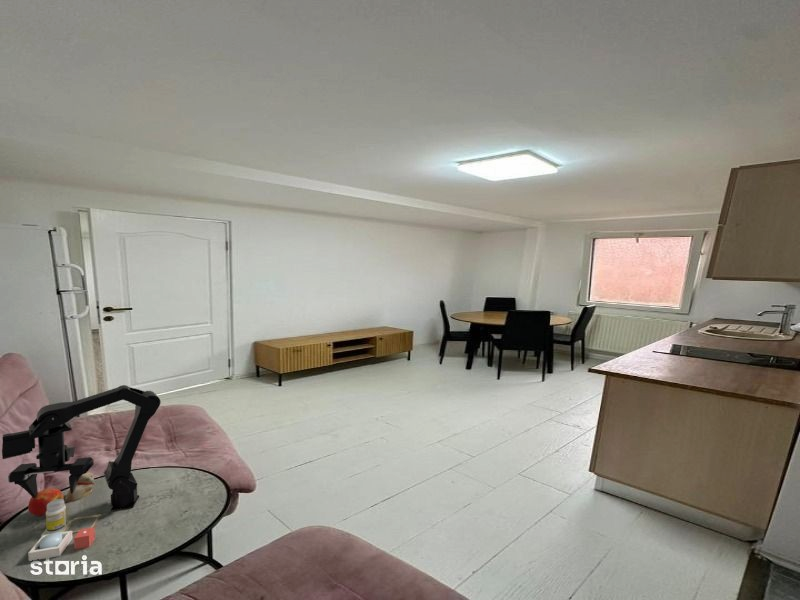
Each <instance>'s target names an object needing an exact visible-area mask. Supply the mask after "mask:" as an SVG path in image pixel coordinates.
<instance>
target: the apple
mask: <svg viewBox="0 0 800 600" xmlns="http://www.w3.org/2000/svg"><path fill="white" fill-rule="evenodd" d="M56 499H63V500H64V495H63V492H62V491H61V490H60V489H58V488H45V489H42V490H39V491H38V493H37V497H36V498H33V497H32V496H31V498H30V499H29V500H28V506H27V508H28V512H29V514H30V515H33V516H34V517H46V511H47V504H48V503H49V502H51V501H53V500H56Z"/></svg>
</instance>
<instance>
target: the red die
mask: <svg viewBox="0 0 800 600" xmlns="http://www.w3.org/2000/svg"><path fill="white" fill-rule="evenodd" d="M95 528H96V527H95V526H93V528H90V527H89V528H81V529H79V532H77V533H76V535H75V536H74V537H73V543H74V544H73V545H74V550H80V549H85V548H90V547H91V546H92V545H93V542H94V541H95V540H96V531H95V530H96V529H95Z"/></svg>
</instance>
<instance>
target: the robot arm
mask: <svg viewBox="0 0 800 600" xmlns="http://www.w3.org/2000/svg"><path fill="white" fill-rule="evenodd" d="M121 401H125V402H128V403H130V404H133V405H134V406H135V409H134V417H133V420H132V421H131V425H130V427H129V429H128V432H127V434H126V436H125V438H124V441H123V443H122V446H121V449H120V450H119V454H118V456H117V457H116V458H115V459H114V461H110V460H109V461H108V462H107V467H106V469H105V470H104V471H103V474H104V479H105V481H106V484H107V487H108V488H109V489H110V490H112V492H111V494H110V506H111V508H110V511H111V512H113V511H119V510H121V511H122V510H127V509H128V510H129V509H133V508H134V507H135V505H136V504H137V502H138V500H139V499H140V495H139V494H138V482H137V480H136V478H135V476H134V474H133V472H132V463H133V459H134V456H135V455H136V452H137V449H138V447H139V445H140V442H141V439H142V437H143V435H144V432H145V429H146V428H147V426H148V422H149V420H151V418H152V417H153V416H154V415H155V414H156V413H157V411H158V409H159V408H160V406H161V399H160V397H159V396H158V395H157V394H156V393H155V392H154V391H153V390H143V389H142V390H141V389H138V388H134V387H131V386H128V385H125V384H123V385H119V386H117V387H115V388H112V389H108V390H106V391H102V392H99V393H96V394H94V395H93V394H92V395H89V396H88V397H87V396H86V397H83V398H81V399H78V400H74V401H65V402H57V403H52V404H48V405H45V406H42V407H40V408H39V410H38V411H37V413H36V418H35V419H34V420H33V421H32V423H31V424H30V425H29V427H28V429H27V430H23V431H18V432H13V433H11V432H10V433H6V434H3V435H2V442H1V445H2V447H1V455H2V457H1V458H2V460H6V459H10V458H16V457H18V456H23V455H28V454H31V452H33V449H36V439H37V444H38V454H37V455H36V456H35V457H36V460H39V461H38V463H39V466H37V465H38V464H37V463H36V462H30V463H21V464H19V465H18V466H17V467H15V468H14V469H13V470H12V471H10V472H9V474H8V480H7V481H8V483H9V484H10V483H14V485H18V486H20V487H21V488H22V489H23V490H25V491H26V492H27V493H28V494H29V495H30V497H31V498H32V497H33V498H36V497H37V493H38V492H39V491H38V483H37V482H38V481H37V477H38V474H39V475H40V474H47V473H56V472H65V471H68V472H69V473H68V474H70V475H69V476H68V483H69V485H68V486H69V490H70V492H71V494H72V493H73V492H74V491H75V488H76V485H77V483H78V480H79V478H80V477H81V476H82V475H83V474H85V473H88V472H89V470H90V469H91V468H92V467H93V466H94V458H92V457H91V456H89V457H79V458H77V459H75V460H74V462H71V463H66V462H69V461H70V460H71V459H70V458H74V457H75V450H76V449H75V448H76V446H69V447H68V445H67V444H65V432H69V431H72V424H69V423H68V422H69V421H71V420H73V419H74V418H77V416H80V415H83V414H85V413H87V412H91V411H94V410H97V409H100V408H102V407H105V406H108V405H111V404H114V403H117V402H121Z"/></svg>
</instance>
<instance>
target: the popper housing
mask: <svg viewBox="0 0 800 600" xmlns="http://www.w3.org/2000/svg"><path fill="white" fill-rule="evenodd" d="M72 531H73V530H67V531H66V532H60V533H62V541H61V542H60V544H59V545H58V546H57V547H51V548H45V549H40V543H39V542H40V540H41V539H42V538H43V537H45V536H47V535H49V534H47V535H43V536H41V537H40V538H39V540H37V542H36V543H35V544H34V546H32V547H31V549H30V551H28V553H27V554H28V555H27V556H28V562H32V560H33V561H38V560H37V559H39V560H44V559H50V558H56V557H60V556H61V555H62V554H63V552H64V551H65V550H66V548H67V547H68V545H69V544H70V542H71V541H72V540H73V539H74V537H73V533H72Z"/></svg>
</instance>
